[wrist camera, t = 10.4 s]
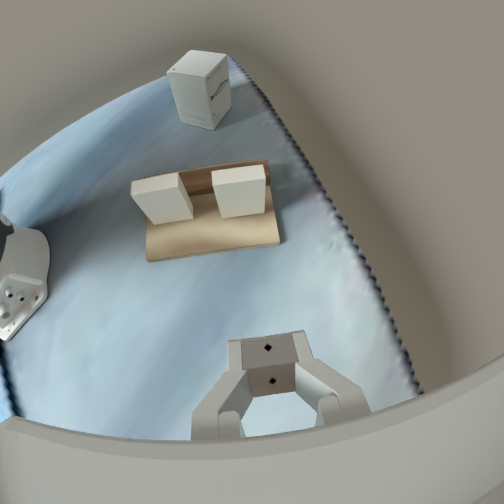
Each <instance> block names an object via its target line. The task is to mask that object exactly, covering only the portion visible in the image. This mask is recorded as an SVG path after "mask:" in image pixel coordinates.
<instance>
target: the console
mask: <svg viewBox="0 0 504 504" xmlns="http://www.w3.org/2000/svg"><path fill="white" fill-rule="evenodd" d="M262 164H263V167H264V172H265V178H266V185H265V211H264V213H260V214H252V215H245V216H237V217H230V218H223V219H222V217H221V214H220V210H219V207H218V203H217V200H216V196H215V193H214V189H213V185H212V172H211V171H216V170H223V169H230V168H238V167H245V166H254V165H262ZM177 172H178V174H179V176H180V178H181V180H182V183H183V185H184V187H185V189H186V192H187V194H188V196H189V198H190V201H191V203H192V205H193V215H194V219H188V220H181V221H175V222H169V223H163V224H156V225H154V224H153V223H152V222H151V220H150V219H149V218H148V217H147V215H146V260H147V261H148V262H155V261H162V260H169V259H177V258H184V257H192V256H199V255H206V254H214V253H221V252H229V251H236V250H244V249H251V248H259V247H266V246H274V245H279V244H280V239H279V234H278V228H277V222H276V217H275V211H274V206H273V201H272V195H271V190H270V170H269V166H268V161H267V160H264V159H256V160H247V161H239V162H232V163H225V164H218V165H211V166H204V167H198V168H192V169H186V170H180V171H175V172H169V173H164V174H159V175H154V176H149V177H144V179H146V178H151V177H156V176H161V175H166V174H171V173H177Z"/></svg>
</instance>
